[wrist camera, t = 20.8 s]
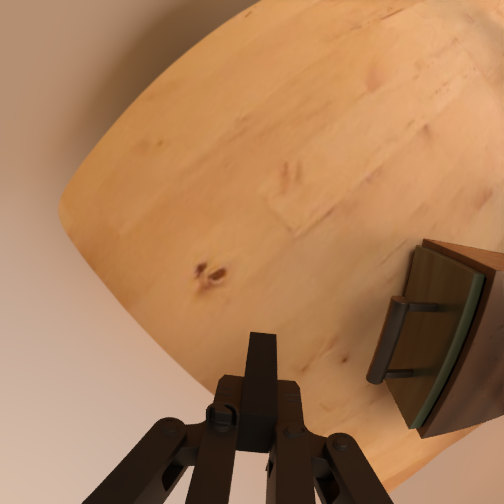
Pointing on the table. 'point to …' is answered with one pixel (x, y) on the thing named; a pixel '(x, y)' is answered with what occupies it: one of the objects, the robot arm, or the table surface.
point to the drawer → (425, 332)
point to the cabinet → (474, 351)
